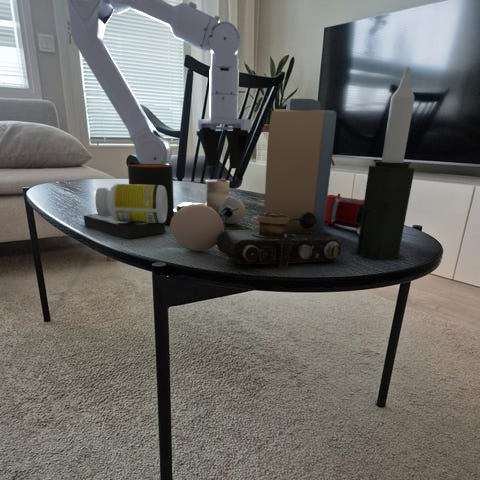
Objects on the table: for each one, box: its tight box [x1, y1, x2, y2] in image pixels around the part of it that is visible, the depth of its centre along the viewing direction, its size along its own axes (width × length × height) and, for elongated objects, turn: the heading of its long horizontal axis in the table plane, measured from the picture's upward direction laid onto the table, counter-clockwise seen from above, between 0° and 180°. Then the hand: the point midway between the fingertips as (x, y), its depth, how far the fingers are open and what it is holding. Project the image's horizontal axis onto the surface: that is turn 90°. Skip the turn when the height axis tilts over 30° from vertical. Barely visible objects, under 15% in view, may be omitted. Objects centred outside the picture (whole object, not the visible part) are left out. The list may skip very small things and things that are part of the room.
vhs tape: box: [83, 213, 166, 240], centre depth 76 cm, size 14×8×2 cm, turn 47°
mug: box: [127, 163, 175, 225], centre depth 83 cm, size 8×12×10 cm
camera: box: [216, 212, 343, 269], centre depth 59 cm, size 16×7×8 cm
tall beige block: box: [263, 98, 337, 234], centre depth 72 cm, size 21×10×22 cm, turn 168°
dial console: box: [176, 201, 224, 222], centre depth 89 cm, size 12×9×3 cm
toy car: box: [324, 193, 364, 229], centre depth 81 cm, size 6×14×5 cm
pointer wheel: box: [205, 178, 230, 207], centre depth 87 cm, size 5×5×5 cm
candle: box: [356, 66, 416, 261], centre depth 60 cm, size 5×5×25 cm
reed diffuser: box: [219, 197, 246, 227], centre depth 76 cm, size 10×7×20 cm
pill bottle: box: [94, 183, 168, 223], centre depth 71 cm, size 6×6×11 cm
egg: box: [169, 204, 225, 252], centre depth 63 cm, size 7×7×10 cm
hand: (223, 167), depth 90 cm, fingers open, 7 cm apart
